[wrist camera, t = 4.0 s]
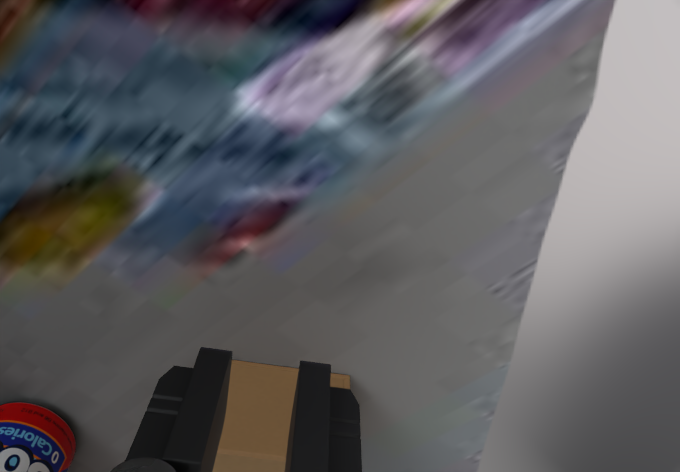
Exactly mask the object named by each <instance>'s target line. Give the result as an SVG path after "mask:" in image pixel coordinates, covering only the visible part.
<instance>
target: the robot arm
mask: <svg viewBox="0 0 680 472" xmlns="http://www.w3.org/2000/svg"><path fill="white" fill-rule="evenodd" d="M231 363H232V351H226V350H219V349H212V348H204V347H201V349H200V351H199V354H198V357H197V359H196V362H195V365H194V368H187V367H180V366H174V367H172V368H171V369H170V370H169V371H168V372H167V373H166V374H164V375H163V376H162V377H161V378H160V379H159V381H158V383H157V386H156V388H155V391H154V393H153V397H152V398H151V400H150V403H149V405H148V407H147V412H145V415H144V417H143V419H142V422H141V424H140V427H139V429H138V432H137V434H136V436H135V439H134V441H133V444H132V446H131V448H130V451H129V453H128V456H127V458H126V460H125V462H123V463H121V464H119V465H118V466H116V467H115V468H114V469H112V470H111V471H110V472H212V471H213V467H214V463H215V459H216V455H217V450H218V446H219V442H220V438H221V434H222V430H223V425H224V420H225V414H226V408H227V399H228V390H229V381H230V372H231ZM330 380H331V365H330V364H322V363H315V362H308V361H300V366H299V372H298V378H297V384H296V390H295V396H294V402H293V408H292V414H291V421H290V428H289V436H288V445H287V454H286V464H285V472H362V463H361V439H360V409H359V404H358V402H357V400H356V398H355V397H354V395H353V393H352V392H351V390H350V389H345V388H338V387H330Z"/></svg>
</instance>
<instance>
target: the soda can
mask: <svg viewBox="0 0 680 472" xmlns="http://www.w3.org/2000/svg"><path fill="white" fill-rule="evenodd" d="M75 452H76V442H75V438H74V435H73V432H72V430H71V429H70V427H69V426H68V424H67V423H66V422H65V421H64V420H63V419H62V418H61V417H59V416H58V415H57V414H55V413H54V412H52V411H50V410H49V409H47V408H44V407H42V406H39V405H35V404H31V403H24V402H13V403H7V404H3V405H0V472H67V471H68V469H69V467H70V465H71V463H72V461H73V458H74V455H75Z"/></svg>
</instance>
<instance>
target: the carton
mask: <svg viewBox="0 0 680 472" xmlns="http://www.w3.org/2000/svg"><path fill="white" fill-rule="evenodd" d="M197 357H198V356H197ZM298 372H299V369H297V368H290V367H282V366H275V365H268V364H260V363H253V362H245V361H238V360H232V363H231V372H230V381H229V390H228V399H227V408H226V414H225V420H224V425H223V430H222V434H221V438H220V442H219V446H218V450H217V453H220V454H228V455H236V456H244V457H252V458H260V459H269V460H277V461H285V462H286V454H287V445H288V436H289V428H290V421H291V414H292V408H293V402H294V396H295V390H296V384H297V378H298ZM330 387H338V388H345V389H350V376H349V375H342V374H335V373H331V380H330Z"/></svg>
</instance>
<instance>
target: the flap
mask: <svg viewBox="0 0 680 472" xmlns="http://www.w3.org/2000/svg"><path fill="white" fill-rule="evenodd" d="M285 464H286V462H285V461H277V460H269V459H260V458H252V457H244V456H236V455H228V454H220V453H217V455H216V459H215V463H214V467H213V471H212V472H285Z"/></svg>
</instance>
